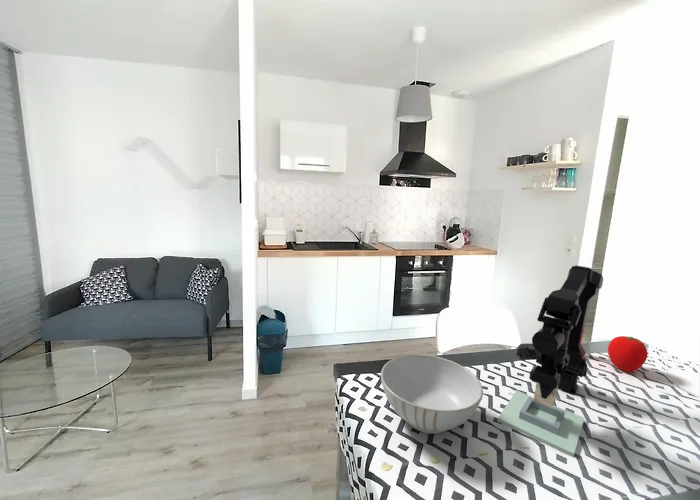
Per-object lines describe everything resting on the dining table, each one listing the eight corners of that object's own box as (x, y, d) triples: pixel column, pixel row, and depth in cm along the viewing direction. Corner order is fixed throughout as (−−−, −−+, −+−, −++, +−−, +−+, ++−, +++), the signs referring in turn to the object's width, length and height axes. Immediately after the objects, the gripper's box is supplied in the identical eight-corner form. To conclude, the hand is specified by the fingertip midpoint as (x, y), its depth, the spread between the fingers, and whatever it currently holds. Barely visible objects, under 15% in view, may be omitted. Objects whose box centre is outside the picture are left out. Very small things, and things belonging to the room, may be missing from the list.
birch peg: (537, 393, 96) (541, 368, 95) (555, 400, 93) (560, 374, 92) (533, 400, 93) (537, 374, 91) (551, 408, 90) (556, 381, 88)
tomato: (610, 372, 122) (616, 339, 120) (601, 359, 132) (607, 328, 129) (648, 380, 118) (656, 346, 115) (636, 366, 128) (644, 334, 125)
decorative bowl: (401, 465, 77) (405, 418, 75) (365, 394, 102) (368, 358, 100) (500, 446, 84) (506, 403, 82) (443, 384, 110) (447, 350, 107)
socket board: (516, 393, 107) (517, 384, 106) (583, 420, 95) (585, 411, 95) (497, 421, 93) (498, 411, 93) (573, 457, 82) (575, 446, 81)
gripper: (530, 323, 102) (523, 369, 105) (512, 342, 88) (504, 396, 91) (574, 334, 95) (564, 384, 98) (561, 358, 81) (551, 415, 84)
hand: (545, 394), depth 93 cm, fingers closed on birch peg, 4 cm apart
